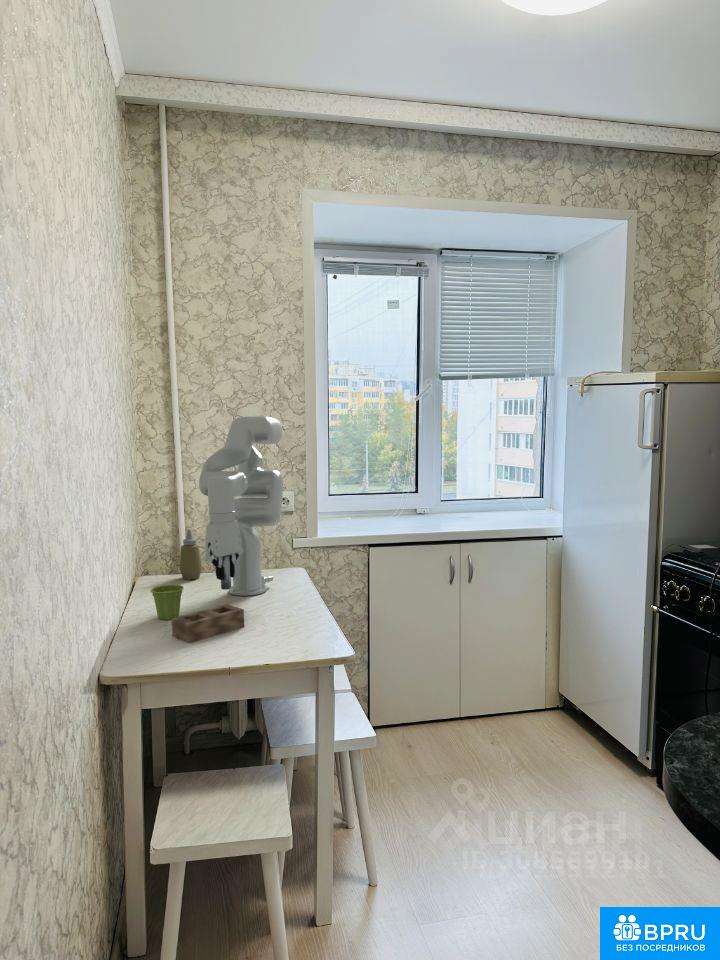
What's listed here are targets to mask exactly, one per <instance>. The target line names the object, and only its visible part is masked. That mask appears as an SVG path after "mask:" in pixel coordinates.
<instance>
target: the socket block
mask: <svg viewBox="0 0 720 960" xmlns="http://www.w3.org/2000/svg"><path fill="white" fill-rule="evenodd" d="M241 627H242V628H245V609H244V608H241V607H238V606H235V605H231V604H223V605H219V606H215V607H212V608H208V609H204V610H203V609H202V610H200V611H195V612H192V613H187V614H184V615H181V616H180V615H179V616H178V617H175V618H172V619H171V631H172V632H171V633H172V637H173V638H174V639H177V640H179V641H183V642H185V643H188V644H190V643H194V642H197V641H201V640H204V639H207V638H211V637H214V636H218V635H221V634H224V633H227V632H228V633H229V632H232V631H235V630H238V629H242V628H241Z"/></svg>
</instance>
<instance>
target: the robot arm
mask: <svg viewBox="0 0 720 960" xmlns="http://www.w3.org/2000/svg"><path fill="white" fill-rule="evenodd" d="M282 427H283V426H282V425H281V422H280V421H279V420H278V419H276V418H273V417H269V416H263V415H262V416H261V415H260V416H257V415H256V416H240V417H237V418H235V419H233V421H232V422H231V423H230V427H229V429H228V433H227V436H226V439H225V443H224V446H223V447H222V448H220V449H218V450H217V451H215V452H214V453H213V454H212V455H210V456H208V458H207V459H206V460H205V462H204V463H203V466H202V470H201V472H200V476H199V480H198V487H199V490H200V493H201V494H202V495H203V496H206V497H207V498H208V516H209V517H208V519H209V522H208V523H206V528H205V537H204V540H205V541H204V546H205V547H204V550H205V556H204V560H205V561H206V562H209V563H211V564H212V565H213V566H214V567H215V578H216V579H217V580H219V581H221V580H224V579H225V578H224V567H222V557H223V556H227V555H230V571H231V578H232V585H231V589H228V593H229V594H230V595H232V596H242V597H245V596H249V595H250V596H256V595H261V594H263V593H266V591H267V585H265V584H266V583H270V582H272V581H274V577H273V575H268V576H264V575H262V551H261V538H260V535H259V533H258V532H257V531H256V529H254V528H255V527H274V526H277V525H279V524H280V521H281V516H282V505H283V494H284V478H283V476H282V473H281V472H280V471H279V470H277V469H264V463H265V460H264V457H263V456H262V454H261V453H260V452H259V450H258V449H256V447H254V445H276V444H278V443H279V442H280V441H281V439H282V435H283V428H282ZM235 466H237V470H236V471H235V470H234V471H233V470H227V471H226V469H229V468H233V467H235ZM235 497H239V498H235ZM212 556H213V557H212Z"/></svg>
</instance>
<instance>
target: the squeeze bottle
mask: <svg viewBox="0 0 720 960" xmlns="http://www.w3.org/2000/svg"><path fill="white" fill-rule="evenodd" d="M202 570H203V565H202V558H201V552H200V545H199V544H197V538H194V536H193V532H192V530H191V529H187V532H186V537H185V538H184V539H182V545H181V547H180V555H179V571H180V575H181V576H182V579H183V580H186V579H187V581H188V580H189V581H190V580H191V579H193V580H196V579H199V578H200V577H201V574H202ZM191 581H192V580H191Z"/></svg>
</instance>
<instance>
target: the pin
mask: <svg viewBox="0 0 720 960" xmlns="http://www.w3.org/2000/svg"><path fill="white" fill-rule="evenodd" d="M222 567H224V578H225V579H224V580H220V589H221V590H225V591H226V590H229V589H231V587H232V577H231V571H230V555H227V556H223V557H222Z"/></svg>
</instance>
